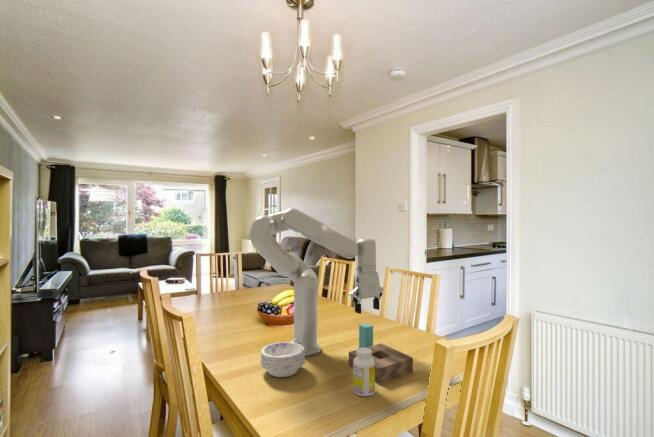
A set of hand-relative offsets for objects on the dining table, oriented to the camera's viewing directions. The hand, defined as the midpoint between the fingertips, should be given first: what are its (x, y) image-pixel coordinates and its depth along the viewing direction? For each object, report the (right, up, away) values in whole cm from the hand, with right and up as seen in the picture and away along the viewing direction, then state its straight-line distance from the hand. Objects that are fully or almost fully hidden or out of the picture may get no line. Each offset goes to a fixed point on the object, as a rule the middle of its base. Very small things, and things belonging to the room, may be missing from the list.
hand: (367, 310), depth 135 cm
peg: (-1, -16, 0) cm, 16 cm away
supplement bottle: (-5, -16, -33) cm, 37 cm away
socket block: (+2, -16, -17) cm, 24 cm away
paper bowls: (-32, -16, -20) cm, 41 cm away
